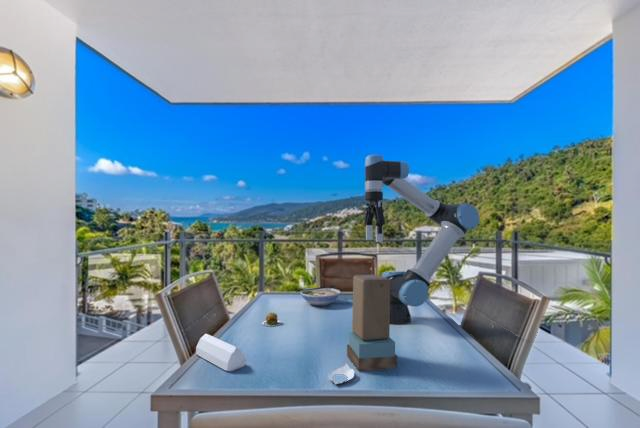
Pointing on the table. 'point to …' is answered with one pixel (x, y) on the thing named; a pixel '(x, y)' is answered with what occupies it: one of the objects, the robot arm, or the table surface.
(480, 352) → the table surface
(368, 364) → the tower base
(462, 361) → the table surface
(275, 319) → the hamburger
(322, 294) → the ramen bowl
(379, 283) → the wooden block
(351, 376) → the pale veined leaf
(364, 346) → the grey teal block
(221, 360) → the crystal
